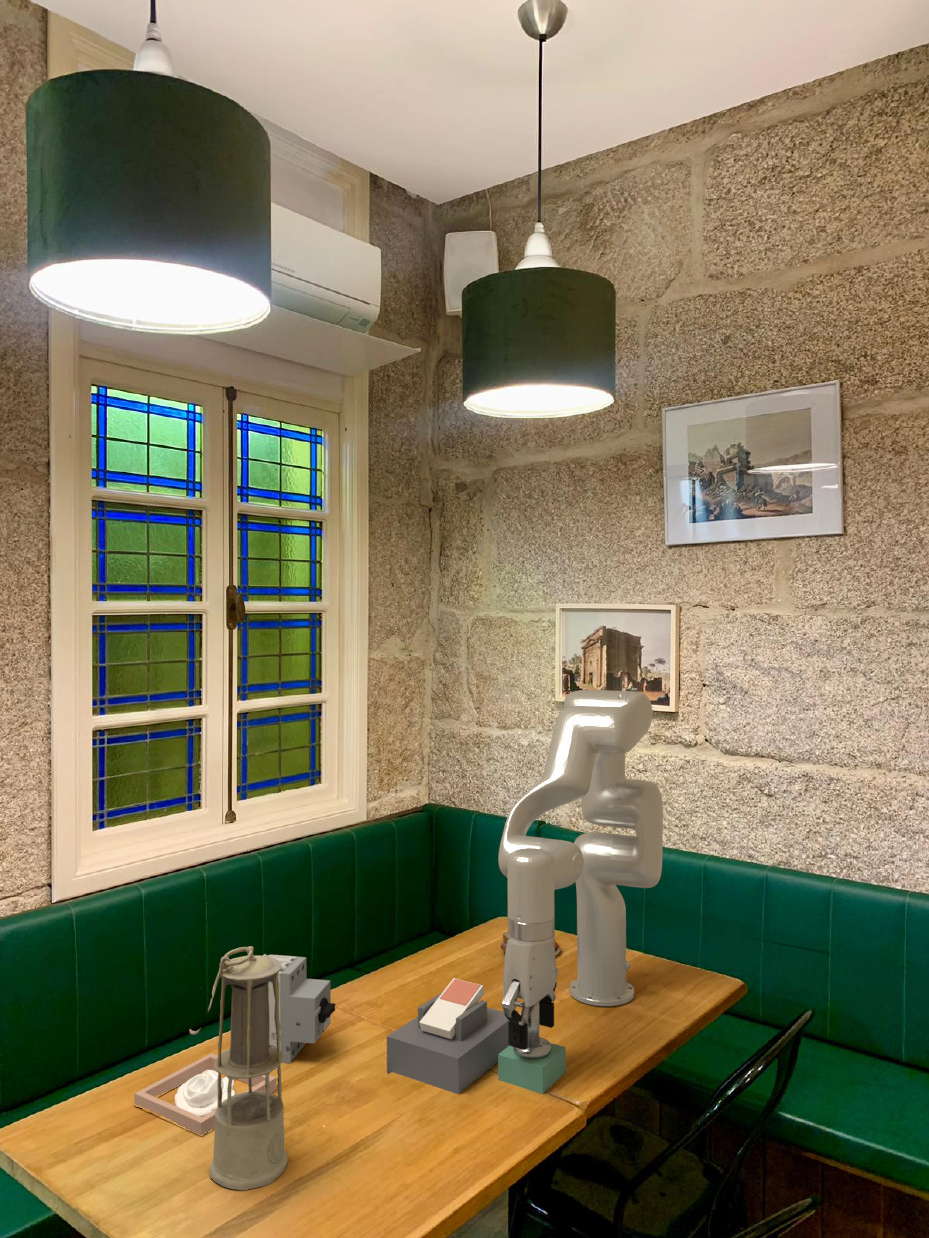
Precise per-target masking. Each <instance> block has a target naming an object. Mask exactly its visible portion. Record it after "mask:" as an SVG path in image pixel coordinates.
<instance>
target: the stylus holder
mask: <svg viewBox="0 0 929 1238" xmlns="http://www.w3.org/2000/svg"><path fill="white" fill-rule="evenodd" d="M550 1044H551V1053H550V1055H549V1056H548V1057H546V1058H543V1059H539V1060H527V1059H523V1058H520V1057H518V1056H517V1055H515V1053H514V1051H513V1047H512V1046H510V1045H509V1046H508V1047H507V1048H506V1049H504V1050H503V1051H502V1052H501V1053H499V1054H498V1062H497V1067H498V1068H497V1072H498V1073H497V1077H498V1079H497V1080H498V1081H500V1082H503V1083H507V1084H510V1085H513V1086H516V1087H519V1088H522V1089H524V1090H528V1091H531V1092H535V1093H538V1094H541V1095H544V1094H545V1093H546V1091H548V1090H549V1089H550V1088H551V1087H552V1086H553V1085H554V1084H555V1083H556V1082H557V1081H558V1080H559V1079H561V1077H562V1076H564V1074H565V1073H566V1071H567V1070H566V1068H567V1063H566V1062H567V1057H566V1054H567V1053H566V1052H567V1051H566V1046H563V1045H560V1044H557V1043H552V1042H550Z"/></svg>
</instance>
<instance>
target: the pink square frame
mask: <svg viewBox="0 0 929 1238" xmlns="http://www.w3.org/2000/svg"><path fill="white" fill-rule="evenodd" d="M217 1056H218V1054H214V1053H212V1052H210V1053H209V1054H207V1055H204V1056H202V1058H201V1057H200V1058H199V1059H198V1060H194V1061H193V1062H191V1063H189V1064H188V1065H186V1066H184V1067H181V1068H180V1069H179V1070H175V1071H174V1072H173V1073H170V1074H169V1075H166V1076H165V1077H163V1078H161V1079H159V1080H158V1081H156V1082H154V1083H151V1084H150V1085H148V1086H146V1087H144V1088H142V1089H140V1090H138V1091H136V1092H134V1105H135V1104H136V1105H139V1106H141V1107H143V1108H145V1109H149V1110H150V1111H152V1112H155V1113H156V1114H159V1115H162V1116H164V1117H165V1118H167V1119H170V1120H171V1121H173V1122H176V1123H177V1124H178V1125H180V1126H183V1127H185V1128H186V1129H189V1130H191V1131H193V1132H196V1133H198V1134H200V1135H202V1134H204V1133H205V1132H208V1131H210V1130H211V1129H213V1130H215V1129H214V1128H215V1112H216V1109H215V1110H214V1111H212V1112H210V1113H209V1114H207V1115H205V1116H204V1117H200V1116H197V1115H195V1114H193V1113H191V1112H188V1111H186V1110H184V1109H181V1108H179V1107H177V1106H176V1105H175V1104H172V1103H169V1102H168V1101H165V1100H163V1099H160V1098H156V1096H157V1095H161V1094H162V1093H164V1092H166V1091H169V1090H171V1089H172V1088H175V1089H177V1088H179V1087H180V1086H179V1085H182V1084H184V1083H185V1082H186V1081H188V1080H189V1079H191V1078H193V1077H194V1076H196V1075H199V1074H202V1073H203V1072H204V1071H206V1070H213V1071H216V1072H217V1070H216V1068H215V1066H214V1063H215V1060H216V1058H217ZM265 1077H266V1076H265V1075H263V1076H259V1077H255V1078H252V1091H261V1092H266V1088H265ZM237 1081H241V1082H242V1081H244V1082H243V1083H245V1082H246V1083H245V1084H247V1085H248V1079H238V1080H237ZM178 1086H179V1087H178ZM176 1087H177V1088H176ZM276 1091H277V1077H276V1076H274V1075H271V1074H269V1093H271V1094H273V1093H274V1092H276ZM245 1092H249V1089H247V1090H245ZM211 1131H212V1130H211ZM211 1131H210V1132H211ZM208 1133H209V1132H208Z"/></svg>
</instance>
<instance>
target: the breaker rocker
mask: <svg viewBox="0 0 929 1238" xmlns="http://www.w3.org/2000/svg"><path fill="white" fill-rule="evenodd" d="M442 992H443V993H442ZM442 992H441V993H442V994H441V995H440V996H439V998H438V999H437V1000H436V1001H435V1003H434V1004H433V1005H432V1007H431V1008H430V1009H429V1010H428V1012H427V1013H426V1014H425V1016H424V1017H423V1018H422V1019H421V1021H420V1022H419V1024H420V1027H421V1030H422V1031H425V1032H429V1033H432V1034H435V1035H439V1036H442V1037H446V1038H449V1039H452V1038H453V1036H454V1035H455V1034H456V1018H457V1017H458V1016H460V1015H461V1014H463V1013H464V1012H466V1011H467V1010H469V1009H470V1008H471V1007H473V1006H474V1005H476V1004H477V1003H479V1002H480V1001H481V999H482V998H483V997H484V995H485V993H486V992H485V988H484V985H482V984H479V983H474V982H471V981H466V980H463V979H459V978H455V977H454V978H452V980H450V982H449V984H448V985H447V986H446V987H445V989H444V990H443V991H442Z"/></svg>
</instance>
